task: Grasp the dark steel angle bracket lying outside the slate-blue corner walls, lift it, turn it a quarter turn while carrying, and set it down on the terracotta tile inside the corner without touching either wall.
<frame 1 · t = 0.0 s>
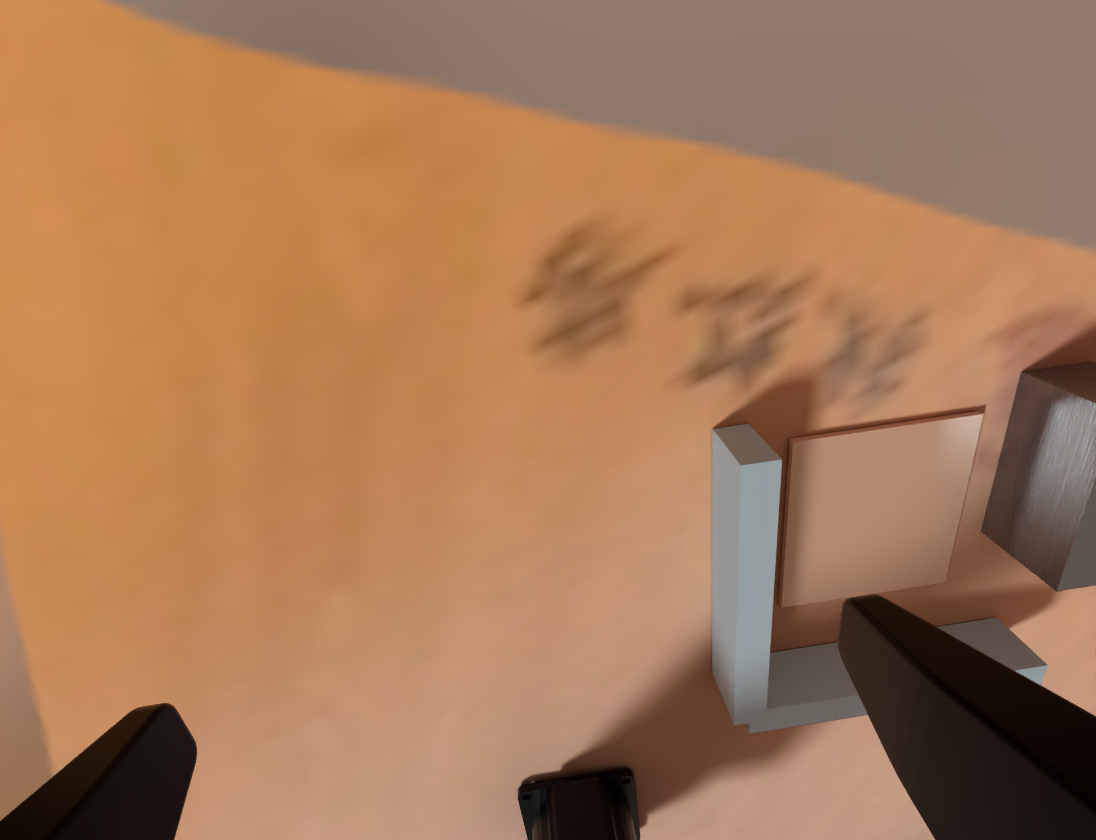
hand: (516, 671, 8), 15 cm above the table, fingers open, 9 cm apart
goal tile: (871, 514, 26), on the table
corner wall: (726, 670, 29), on the table
bracket: (1033, 452, 25), on the table
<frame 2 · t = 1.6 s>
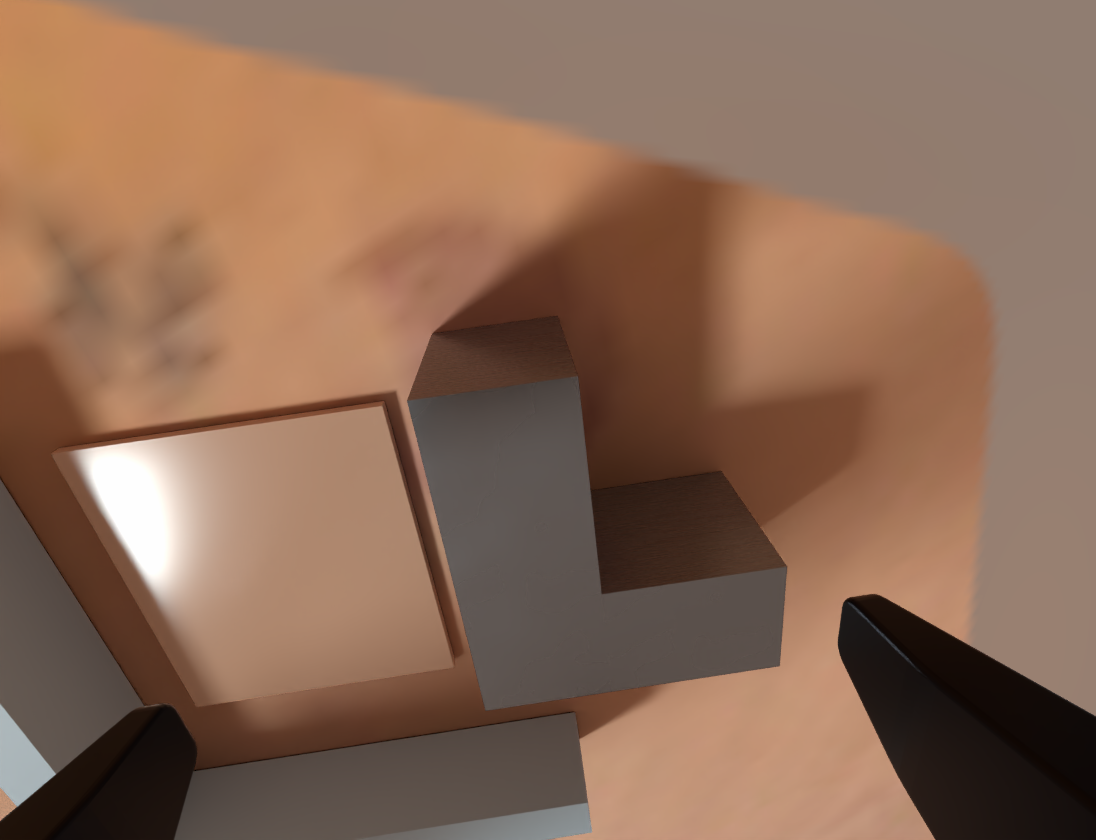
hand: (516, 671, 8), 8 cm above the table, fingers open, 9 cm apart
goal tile: (282, 567, 16), on the table
corner wall: (173, 789, 20), on the table
bracket: (519, 469, 15), on the table
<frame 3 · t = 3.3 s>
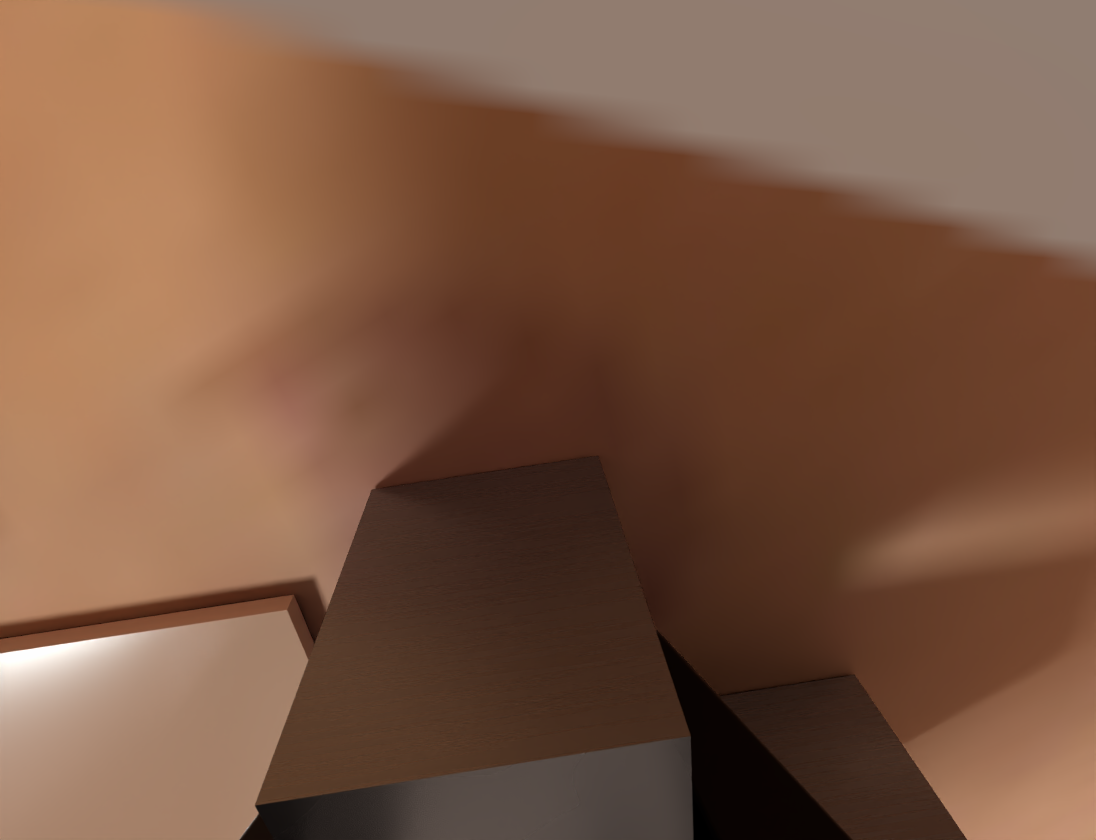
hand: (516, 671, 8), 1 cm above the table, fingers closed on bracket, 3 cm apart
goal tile: (146, 826, 10), on the table
bracket: (527, 684, 9), on the table, touching gripper
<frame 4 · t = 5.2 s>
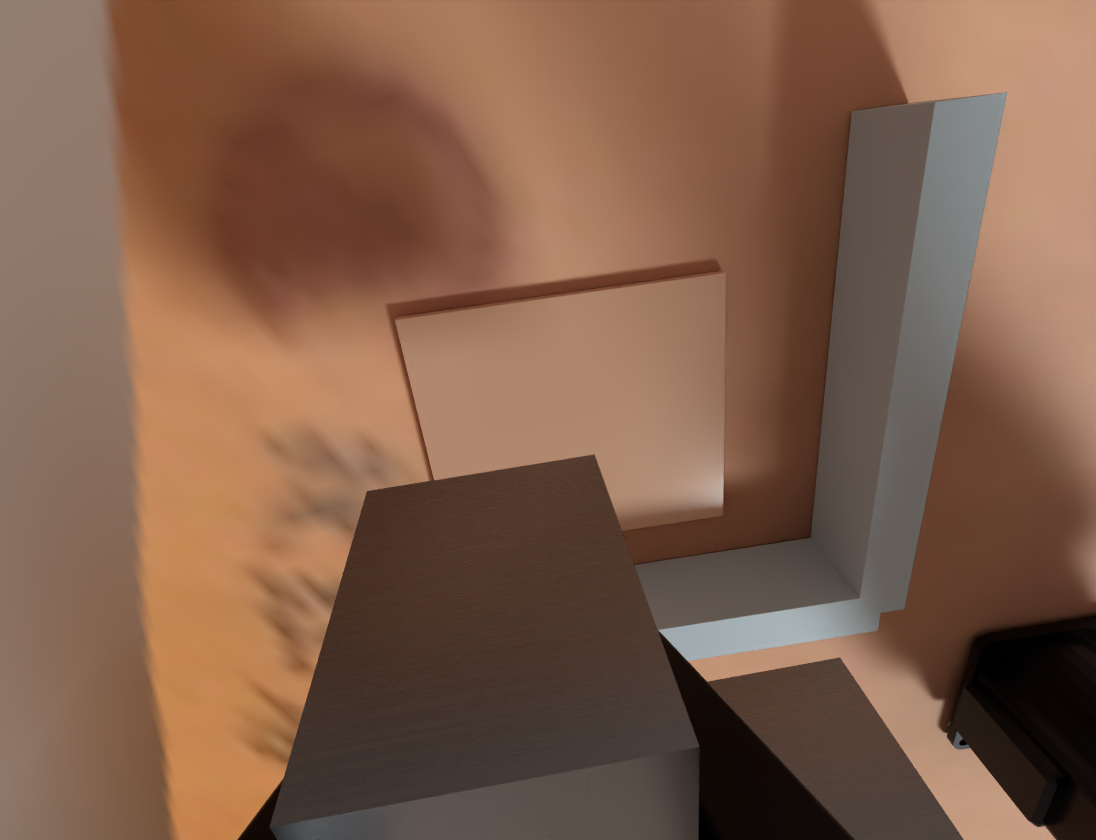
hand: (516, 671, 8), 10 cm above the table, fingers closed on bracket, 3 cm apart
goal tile: (575, 424, 17), on the table
corner wall: (829, 551, 20), on the table
bracket: (523, 675, 9), point 9 cm above the table, touching gripper
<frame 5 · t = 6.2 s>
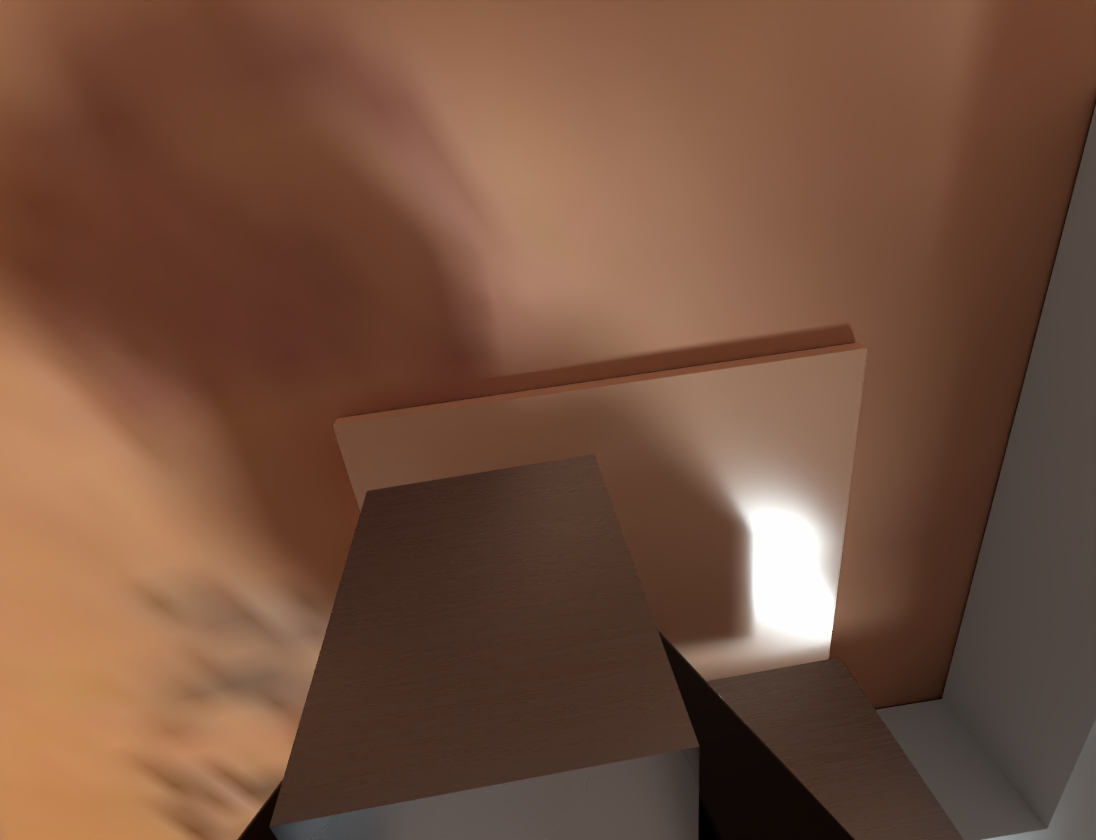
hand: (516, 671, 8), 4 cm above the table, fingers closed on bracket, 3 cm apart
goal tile: (616, 563, 11), on the table
corner wall: (965, 714, 14), on the table
bracket: (523, 674, 9), point 2 cm above the table, touching gripper
when the fingers open (3 cm above the table, at t = 7.1 s): bracket stays where it is, resting on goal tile.
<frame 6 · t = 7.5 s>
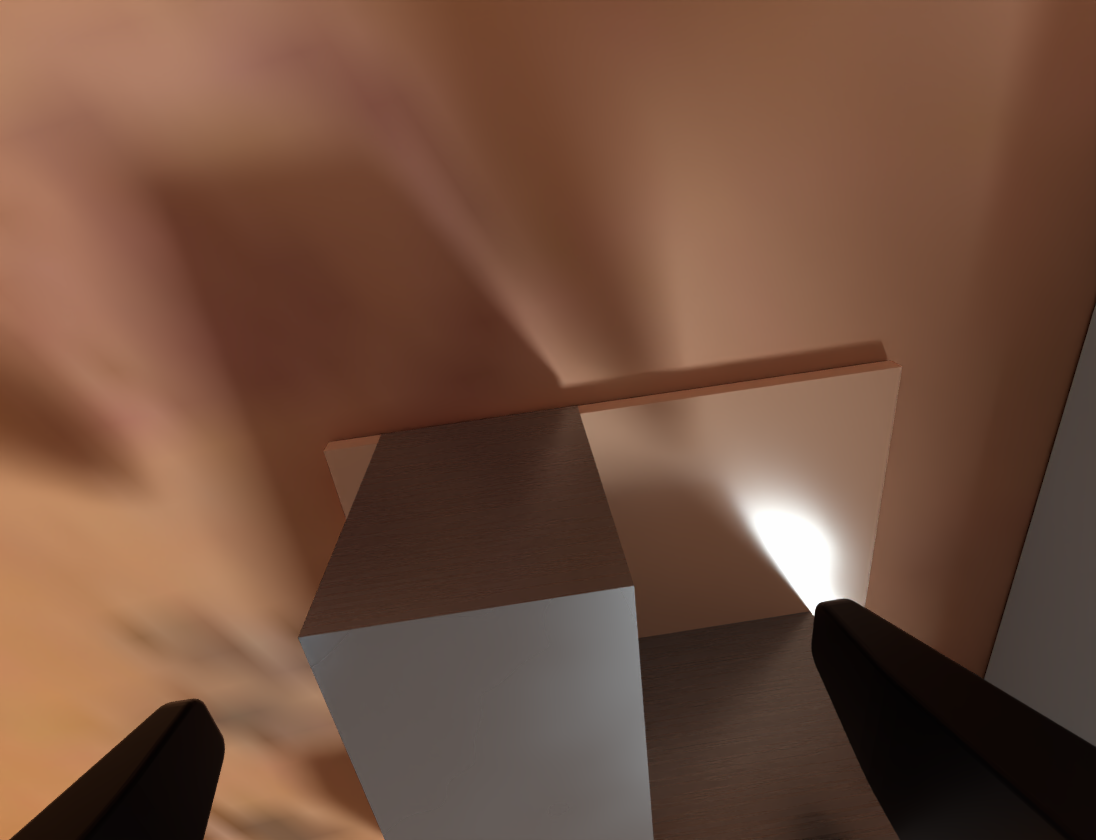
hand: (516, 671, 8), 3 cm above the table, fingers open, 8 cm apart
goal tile: (627, 593, 11), on the table
corner wall: (993, 746, 14), on the table
bracket: (518, 616, 10), resting on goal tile
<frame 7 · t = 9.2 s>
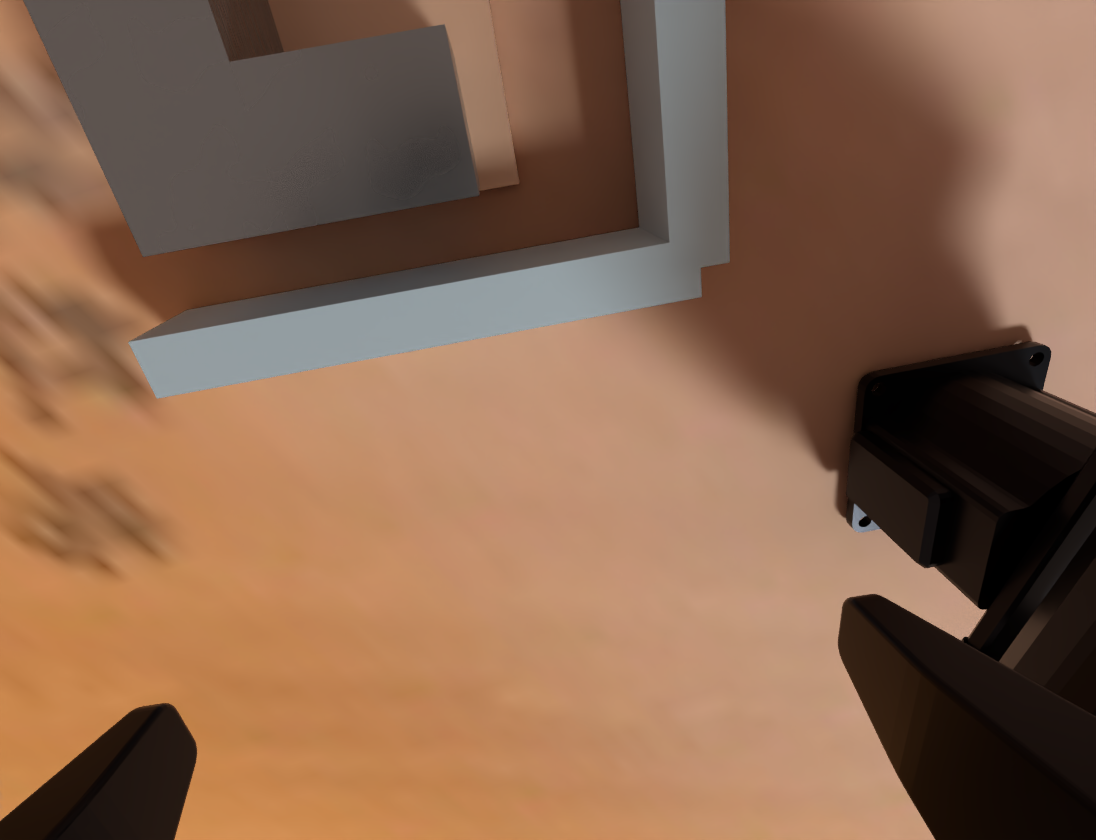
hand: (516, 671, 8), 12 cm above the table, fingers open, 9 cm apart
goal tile: (308, 41, 14), on the table
corner wall: (666, 248, 17), on the table
bracket: (216, 46, 14), resting on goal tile
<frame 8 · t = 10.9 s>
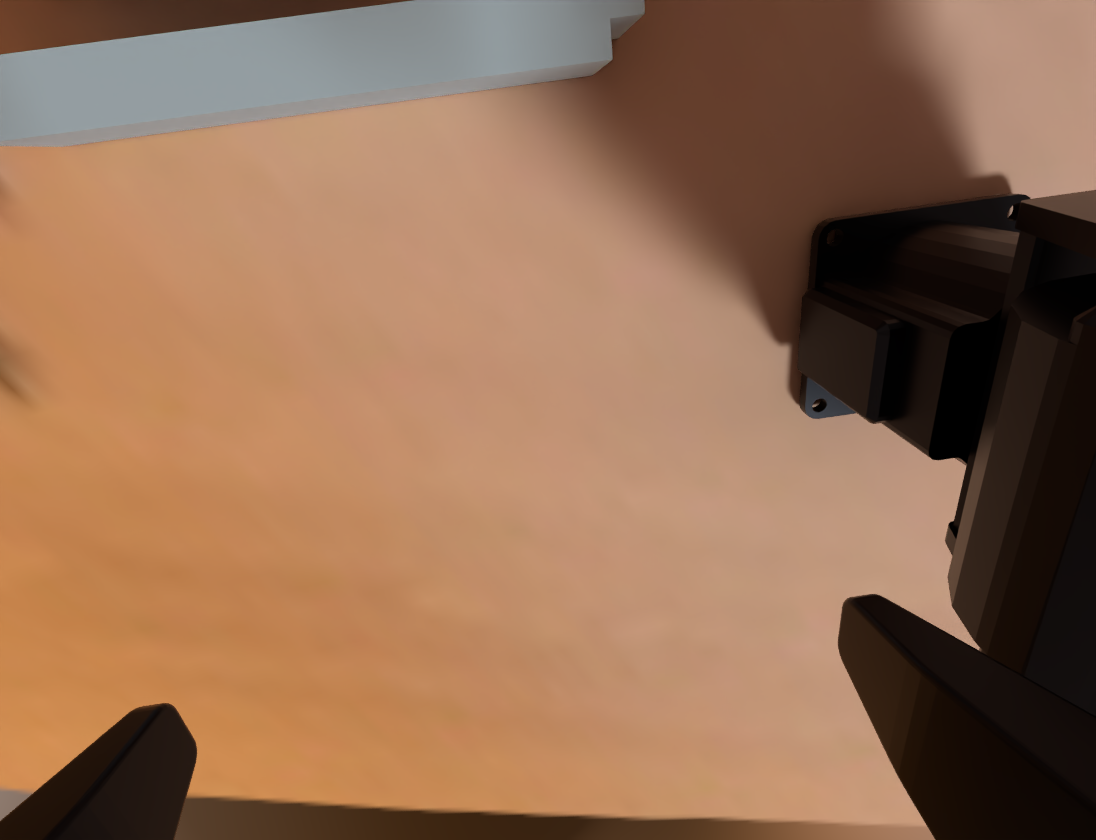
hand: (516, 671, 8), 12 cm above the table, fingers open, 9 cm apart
corner wall: (589, 42, 15), on the table
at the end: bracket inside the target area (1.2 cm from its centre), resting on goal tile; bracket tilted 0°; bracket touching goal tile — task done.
